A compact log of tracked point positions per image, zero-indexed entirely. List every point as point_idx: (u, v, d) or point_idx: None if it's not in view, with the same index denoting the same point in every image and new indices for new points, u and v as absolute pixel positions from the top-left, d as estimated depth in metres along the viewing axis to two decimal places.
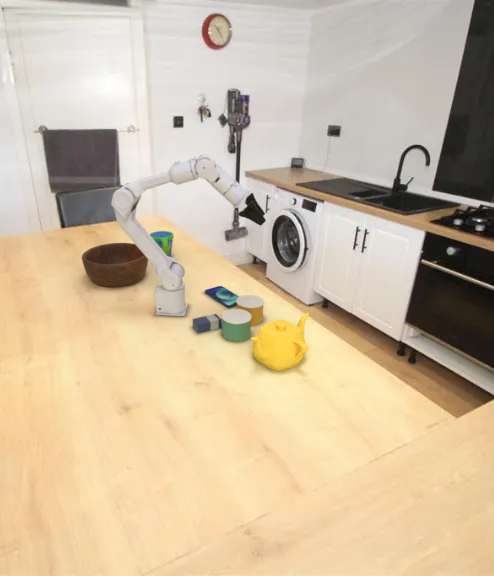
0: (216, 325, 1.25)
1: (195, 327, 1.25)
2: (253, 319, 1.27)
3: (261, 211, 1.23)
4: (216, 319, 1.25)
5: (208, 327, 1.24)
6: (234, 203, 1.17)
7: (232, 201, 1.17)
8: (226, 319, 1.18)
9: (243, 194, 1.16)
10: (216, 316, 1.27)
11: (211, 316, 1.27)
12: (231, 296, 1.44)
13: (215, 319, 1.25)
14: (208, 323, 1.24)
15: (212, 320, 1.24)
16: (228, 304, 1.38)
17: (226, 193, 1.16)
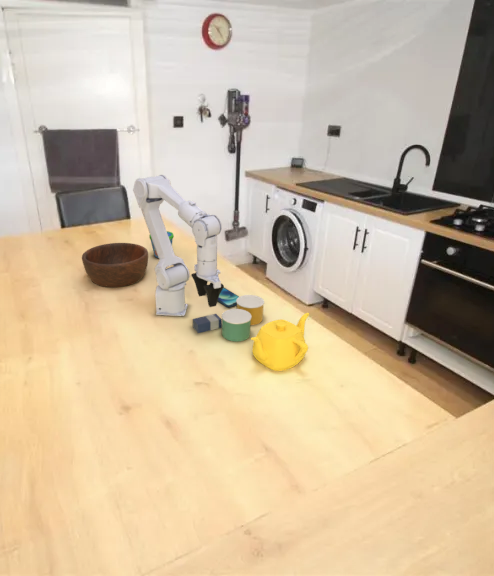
0: (216, 325, 1.25)
1: (195, 327, 1.25)
2: (253, 319, 1.27)
3: (204, 291, 1.25)
4: (216, 319, 1.25)
5: (208, 327, 1.24)
6: (204, 274, 1.16)
7: (204, 271, 1.16)
8: (226, 319, 1.18)
9: (215, 272, 1.17)
10: (216, 316, 1.27)
11: (211, 316, 1.27)
12: (231, 296, 1.44)
13: (215, 319, 1.25)
14: (208, 323, 1.24)
15: (212, 320, 1.24)
16: (228, 304, 1.38)
17: (207, 263, 1.14)
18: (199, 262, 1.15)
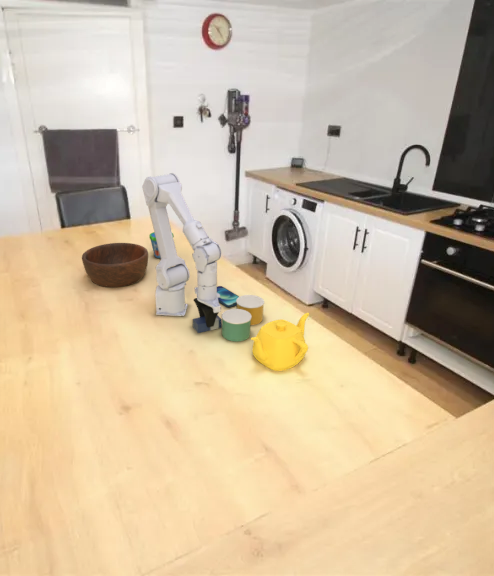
0: (216, 325, 1.25)
1: (195, 327, 1.25)
2: (253, 319, 1.27)
3: None
4: (216, 319, 1.25)
5: (208, 327, 1.24)
6: (204, 298, 1.19)
7: (204, 296, 1.19)
8: (226, 319, 1.18)
9: (215, 296, 1.21)
10: None
11: None
12: (231, 296, 1.44)
13: None
14: None
15: None
16: (228, 304, 1.38)
17: (207, 288, 1.18)
18: (199, 287, 1.19)
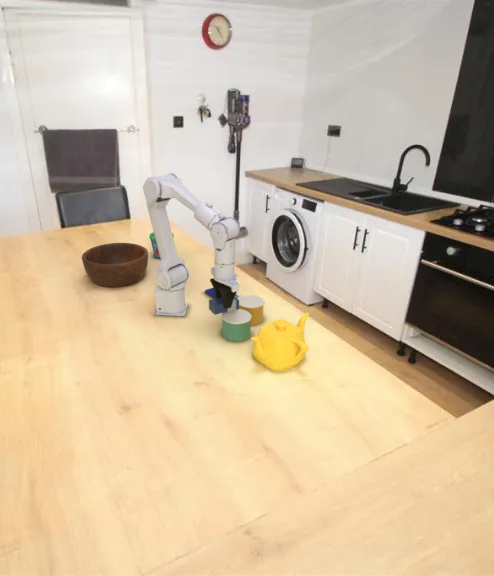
0: (233, 306, 1.20)
1: (211, 309, 1.20)
2: (253, 319, 1.27)
3: None
4: (233, 300, 1.20)
5: None
6: (222, 278, 1.14)
7: (222, 275, 1.14)
8: (226, 319, 1.18)
9: (233, 276, 1.15)
10: None
11: None
12: None
13: None
14: None
15: None
16: None
17: (225, 266, 1.12)
18: (217, 265, 1.13)
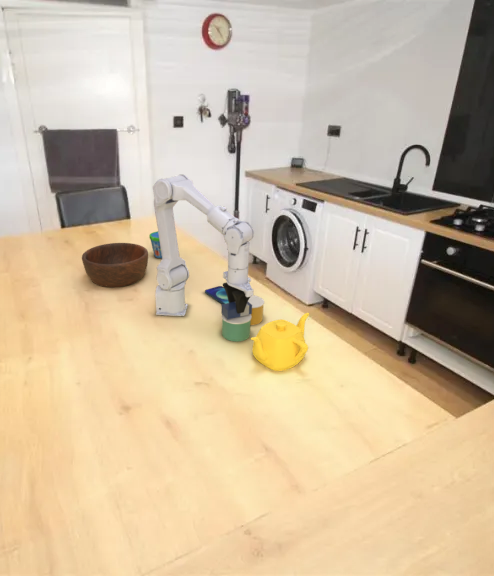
0: (246, 311, 1.19)
1: (224, 313, 1.18)
2: (253, 319, 1.27)
3: None
4: (246, 305, 1.19)
5: None
6: (235, 282, 1.13)
7: (236, 280, 1.12)
8: (226, 319, 1.18)
9: (247, 280, 1.14)
10: None
11: None
12: None
13: None
14: None
15: None
16: None
17: (238, 271, 1.11)
18: (230, 270, 1.12)
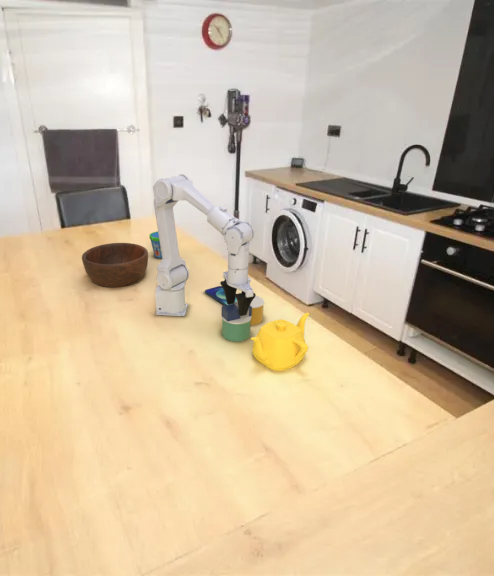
0: None
1: (224, 315, 1.19)
2: (253, 319, 1.27)
3: (233, 299, 1.22)
4: None
5: (237, 315, 1.18)
6: (235, 282, 1.13)
7: (236, 280, 1.12)
8: None
9: (247, 281, 1.14)
10: None
11: None
12: None
13: None
14: (238, 311, 1.17)
15: None
16: None
17: (238, 271, 1.11)
18: (230, 270, 1.12)
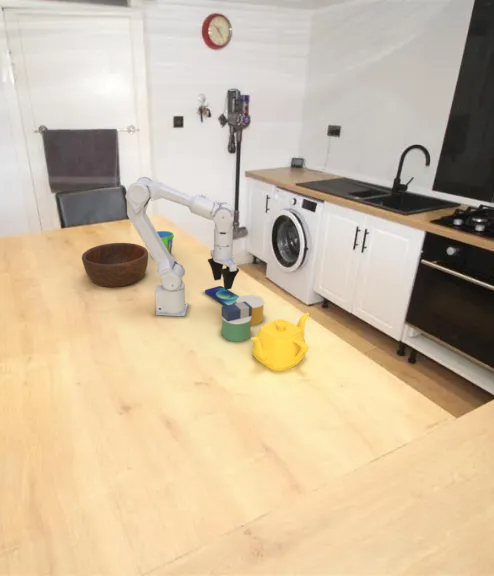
0: (246, 313, 1.19)
1: (224, 315, 1.19)
2: (253, 319, 1.27)
3: (220, 275, 1.33)
4: (246, 307, 1.19)
5: (237, 315, 1.18)
6: (221, 258, 1.24)
7: (221, 256, 1.24)
8: None
9: (231, 257, 1.26)
10: (246, 304, 1.21)
11: (240, 304, 1.21)
12: (231, 296, 1.44)
13: (245, 306, 1.19)
14: (238, 311, 1.17)
15: (242, 308, 1.18)
16: (228, 304, 1.38)
17: (223, 248, 1.23)
18: (216, 247, 1.23)
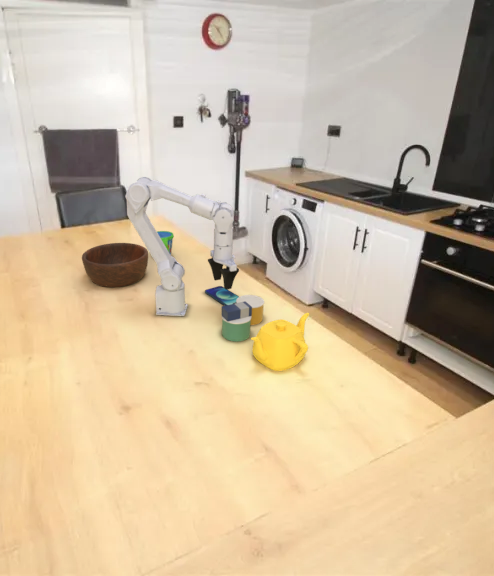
0: (246, 313, 1.19)
1: (224, 315, 1.19)
2: (253, 319, 1.27)
3: (220, 275, 1.33)
4: (246, 307, 1.19)
5: (237, 315, 1.18)
6: (221, 258, 1.24)
7: (221, 256, 1.24)
8: None
9: (231, 257, 1.26)
10: (246, 304, 1.21)
11: (240, 304, 1.21)
12: (231, 296, 1.44)
13: (245, 306, 1.19)
14: (238, 311, 1.17)
15: (242, 308, 1.18)
16: (228, 304, 1.38)
17: (223, 248, 1.23)
18: (216, 247, 1.24)
